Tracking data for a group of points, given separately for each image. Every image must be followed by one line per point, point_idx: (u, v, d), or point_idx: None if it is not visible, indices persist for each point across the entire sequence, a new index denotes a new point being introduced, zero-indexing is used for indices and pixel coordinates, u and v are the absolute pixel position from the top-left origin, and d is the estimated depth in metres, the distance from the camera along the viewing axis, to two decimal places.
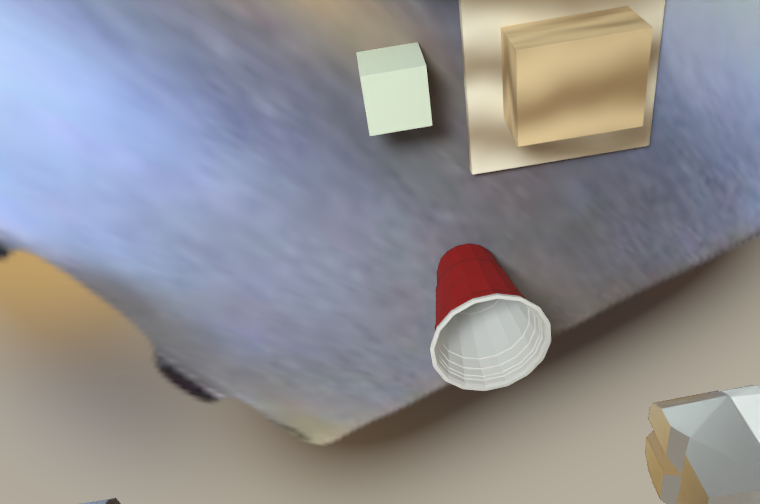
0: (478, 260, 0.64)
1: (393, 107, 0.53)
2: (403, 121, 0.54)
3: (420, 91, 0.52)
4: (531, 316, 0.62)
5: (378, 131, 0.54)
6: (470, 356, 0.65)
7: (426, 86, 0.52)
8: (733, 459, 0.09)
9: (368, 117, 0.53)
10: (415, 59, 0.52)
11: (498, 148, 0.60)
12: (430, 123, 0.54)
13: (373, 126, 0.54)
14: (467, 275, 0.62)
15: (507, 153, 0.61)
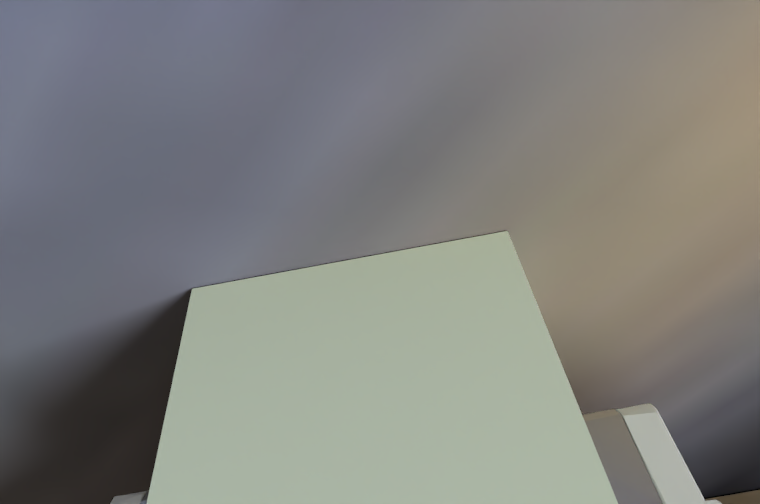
0: None
1: None
2: None
3: None
4: None
5: None
6: None
7: None
8: (616, 479, 0.09)
9: None
10: None
11: None
12: None
13: None
14: None
15: None
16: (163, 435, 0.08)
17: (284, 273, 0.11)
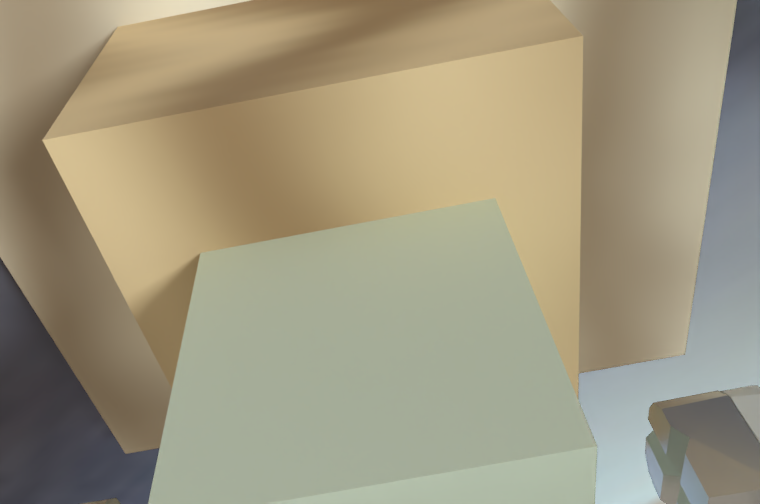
0: None
1: None
2: None
3: None
4: None
5: None
6: None
7: None
8: (733, 460, 0.09)
9: None
10: None
11: None
12: None
13: None
14: None
15: None
16: (176, 379, 0.09)
17: (288, 237, 0.11)
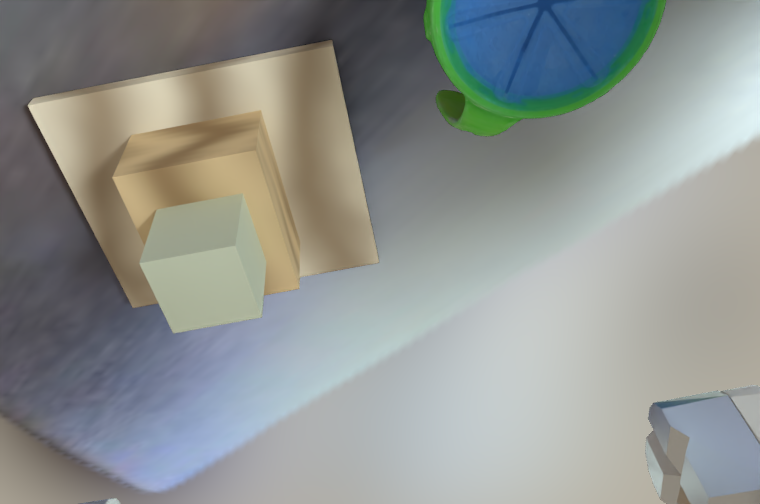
0: None
1: (193, 288, 0.36)
2: (172, 301, 0.36)
3: (222, 315, 0.37)
4: None
5: (150, 273, 0.35)
6: None
7: (231, 320, 0.38)
8: (733, 460, 0.09)
9: (170, 259, 0.35)
10: (260, 291, 0.39)
11: (82, 135, 0.41)
12: (176, 330, 0.38)
13: (156, 266, 0.35)
14: None
15: (77, 149, 0.42)
16: (147, 238, 0.37)
17: (182, 205, 0.39)
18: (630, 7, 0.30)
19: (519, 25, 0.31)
